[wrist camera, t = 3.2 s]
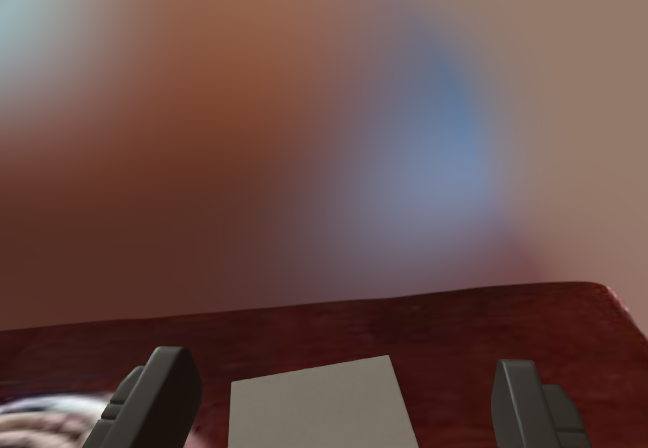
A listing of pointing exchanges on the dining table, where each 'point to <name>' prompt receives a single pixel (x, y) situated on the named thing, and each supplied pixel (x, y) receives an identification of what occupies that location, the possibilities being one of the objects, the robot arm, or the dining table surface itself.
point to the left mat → (322, 408)
